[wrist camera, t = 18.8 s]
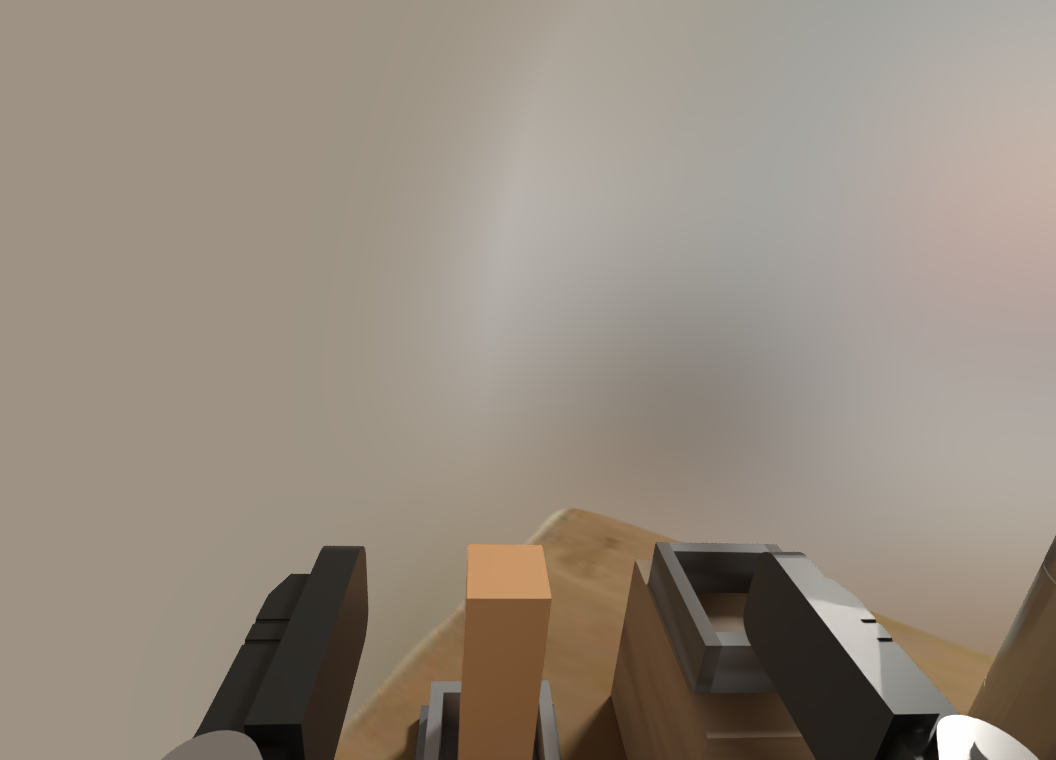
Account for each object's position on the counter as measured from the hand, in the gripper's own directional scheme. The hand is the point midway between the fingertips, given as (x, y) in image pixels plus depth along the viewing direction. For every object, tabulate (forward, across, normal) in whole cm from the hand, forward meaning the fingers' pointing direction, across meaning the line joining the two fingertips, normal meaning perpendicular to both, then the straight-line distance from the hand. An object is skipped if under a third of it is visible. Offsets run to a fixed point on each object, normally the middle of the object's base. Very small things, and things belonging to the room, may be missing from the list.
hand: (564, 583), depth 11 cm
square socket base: (+13, -13, +27) cm, 33 cm away
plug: (+13, 0, +26) cm, 29 cm away
